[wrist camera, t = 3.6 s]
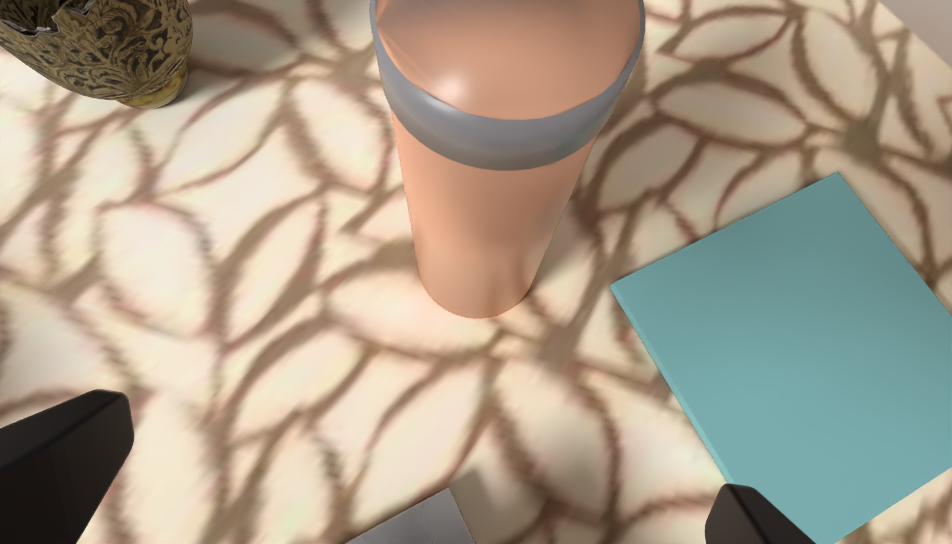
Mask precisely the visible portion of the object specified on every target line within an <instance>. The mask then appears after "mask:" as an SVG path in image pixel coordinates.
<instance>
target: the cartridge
mask: <svg viewBox="0 0 952 544" xmlns="http://www.w3.org/2000/svg"><path fill="white" fill-rule="evenodd" d="M369 12H370V22H371V29H372V34H373V39H374V45H375V50H376V56H377V61H378V66H379V72H380V77H381V82H382V86H383V90H384V93H385V96H386V99H387V101H388V103H389V105H390V108H391V113H392V119H393V124H394V130H395V136H396V142H397V148H398V153H399V159H400V165H401V171H402V177H403V182H404V188H405V194H406V200H407V206H408V211H409V217H410V223H411V229H412V235H413V241H414V246H415V252H416V258H417V264H418V270H419V274H420V278H421V281H422V283H423V286H424V288H425V289H426V291H427V293H428V294H429V295H430V296H431V298H432V299H433V300H434V301H435V302H436V303H437V304H438V305H440V306H441V307H442V308H444V309H445V310H447V311H449V312H451V313H453V314H456V315H458V316H462V317H466V318H489V317H493V316H497V315H499V314H502V313H504V312H506V311H508V310H510V309H511V308H513V307H514V306H515V305H517V304H518V303H519V302H520V301H521V300H522V299H523V297H524V296H525V295H526V293H527V292H528V290H529V288H530V286H531V284H532V282H533V280H534V278H535V275H536V273H537V271H538V268H539V266H540V264H541V262H542V259H543V257H544V255H545V253H546V250H547V248H548V246H549V244H550V241H551V239H552V237H553V235H554V232H555V230H556V228H557V226H558V223H559V221H560V219H561V216H562V214H563V212H564V210H565V207H566V205H567V203H568V201H569V198H570V196H571V194H572V192H573V189H574V187H575V185H576V183H577V180H578V178H579V176H580V173H581V171H582V169H583V167H584V164H585V162H586V160H587V158H588V155H589V153H590V151H591V149H592V146H593V144H594V142H595V140H596V137H597V135H598V133H599V132H600V131H601V129H602V128H603V127H604V126H605V124H606V123H607V121H608V120H609V118H610V116H611V114H612V112H613V111H614V108H615V106H616V104H617V102H618V100H619V98H620V95H621V93H622V91H623V89H624V87H625V84H626V82H627V80H628V78H629V76H630V73H631V71H632V69H633V67H634V65H635V63H636V60H637V58H638V55H639V53H640V50H641V47H642V44H643V39H644V34H645V10H644V3H643V0H370V8H369Z"/></svg>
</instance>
